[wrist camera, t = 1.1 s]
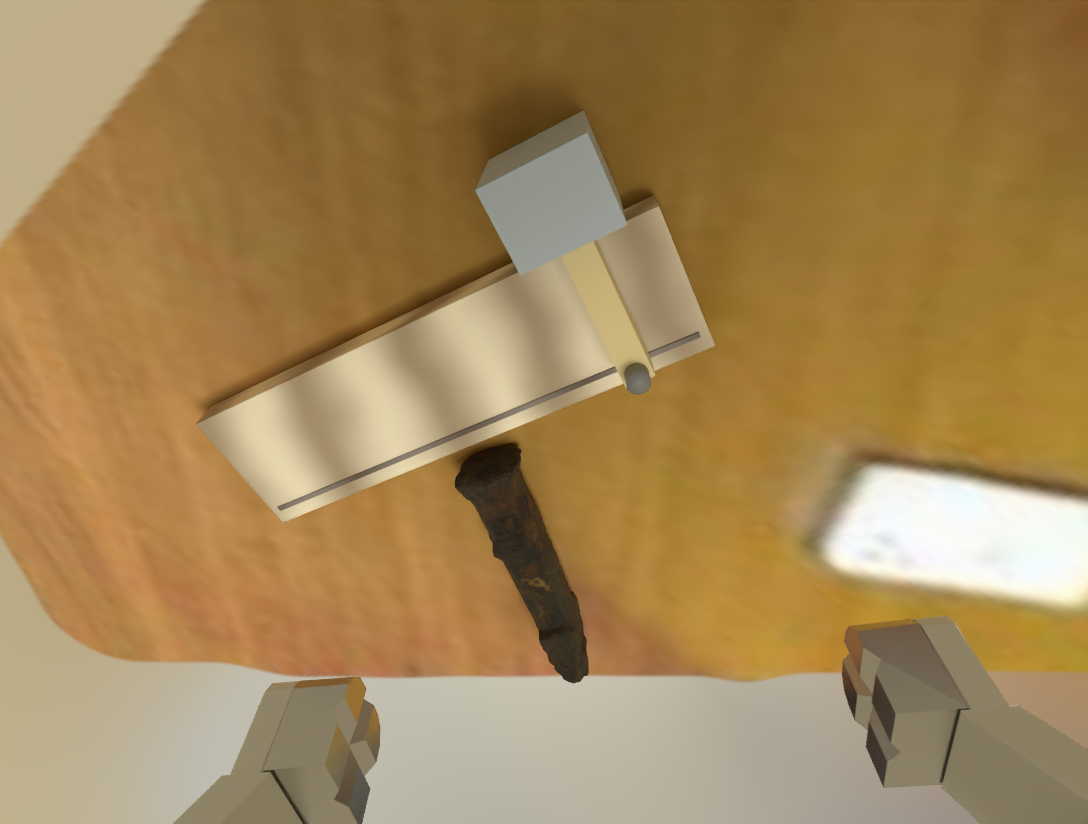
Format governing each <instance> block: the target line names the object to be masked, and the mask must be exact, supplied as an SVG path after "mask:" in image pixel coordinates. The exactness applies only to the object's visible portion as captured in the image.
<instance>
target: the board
mask: <svg viewBox="0 0 1088 824" xmlns="http://www.w3.org/2000/svg"><path fill="white" fill-rule="evenodd" d="M623 211H624V214H625V218H626V222H627V226H624V227H622V228H620V229H618V230H616V231H614V232H612V233H610V234H607V235H605V236H603V237H601V238H599V239H597V243H598V245H599V247H600V249H601V251H602V253H603V256H604V258H605V260H606V262H607V264H608V266H609V269H610V271H611V273H612V275H613V277H614V279H615V282H616V284H617V286H618V288H619V290H620V292H621V295H622V297H623V299H624V301H625V303H626V306H627V308H628V310H629V312H630V314H631V316H632V319H633V321H634V323H635V325H636V327H637V329H638V332H639V334H640V336H641V338H642V340H643V342H644V345H645V347H646V349H647V351H648V353H649V355H650V358H651V360H652V363H653V367H654V371H655V370H658V369H660V368H663V367H665V366H668V365H670V364H672V363H675V362H677V361H680V360H682V359H685V358H687V357H690V356H692V355H695V354H697V353H699V352H702V351H704V350H707V349H709V348H712V347H714V346H715V344H714V342H713V339H712V337H711V334H710V332H709V329H708V327H707V324H706V322H705V319H704V317H703V314H702V312H701V309H700V307H699V304H698V302H697V299H696V297H695V294H694V292H693V289H692V287H691V284H690V282H689V280H688V277H687V275H686V272H685V270H684V267H683V265H682V262H681V260H680V257H679V255H678V252H677V250H676V247H675V245H674V242H673V240H672V237H671V235H670V232H669V230H668V227H667V225H666V222H665V220H664V217H663V215H662V212H661V210H660V207H659V205H658V203H657V201H656V198H655V196H654V195H653V196H651V197H649V198H647V199H645V200H643V201H640V202H638V203H636V204H634V205H632V206H630V207H628V208H626V209H624V210H623ZM621 384H623V382H622V379H621V377H620V375H619V373H618V371H617V369H616V367H615V365H614V363H613V361H612V359H611V357H610V355H609V353H608V351H607V349H606V347H605V345H604V343H603V341H602V339H601V337H600V335H599V333H598V331H597V329H596V327H595V325H594V323H593V321H592V319H591V317H590V315H589V313H588V311H587V309H586V307H585V305H584V303H583V301H582V299H581V296H580V294H579V292H578V290H577V288H576V286H575V284H574V282H573V280H572V278H571V276H570V274H569V272H568V270H567V268H566V266H565V264H564V262H563V260H562V258H561V257H558V258H556V259H554V260H552V261H550V262H548V263H546V264H544V265H541V266H539V267H537V268H535V269H533V270H531V271H529V272H527V273H524V274H522V275H520V274H519V272H518V270H517V268H516V266H515V265H514V263H513V262H512V263H510V264H508V265H506V266H504V267H502V268H500V269H498V270H496V271H494V272H492V273H489V274H487V275H485V276H483V277H481V278H479V279H477V280H475V281H473V282H471V283H468V284H466V285H464V286H462V287H460V288H458V289H456V290H454V291H452V292H450V293H447V294H445V295H443V296H441V297H439V298H437V299H435V300H433V301H431V302H429V303H427V304H424V305H422V306H420V307H418V308H416V309H414V310H412V311H410V312H408V313H406V314H403V315H401V316H399V317H397V318H395V319H393V320H391V321H389V322H387V323H385V324H382V325H380V326H378V327H376V328H374V329H372V330H370V331H368V332H366V333H364V334H361V335H359V336H357V337H355V338H353V339H351V340H349V341H347V342H345V343H343V344H341V345H338V346H336V347H334V348H332V349H330V350H328V351H326V352H324V353H322V354H320V355H317V356H315V357H313V358H311V359H309V360H307V361H305V362H303V363H301V364H299V365H296V366H294V367H292V368H290V369H288V370H286V371H284V372H282V373H280V374H278V375H276V376H273V377H271V378H269V379H267V380H265V381H263V382H261V383H259V384H257V385H255V386H252V387H250V388H248V389H246V390H244V391H242V392H240V393H238V394H236V395H234V396H231V397H229V398H227V399H225V400H223V401H221V402H219V403H217V404H215V405H213V406H211V407H210V408H209V409H208V410H207V412H206V413H205V414H204V415H203V416H202V418H201V419H200V420H199V421H198V422H197V423H196V425H197V426H198V428H199V429H200V430H201V431H202V432H203V433H204V434H205V435H206V436H207V438H208V439H209V440H210V441H211V442H212V443H213V444H214V445H215V447H216V448H217V449H218V450H219V451H220V452H221V453H222V454H223V456H224V457H225V458H226V459H227V460H228V461H229V462H230V463H231V465H232V466H233V467H234V468H235V469H236V470H237V471H238V472H239V473H240V475H241V476H242V477H243V478H244V479H245V480H246V481H247V482H248V484H249V485H250V486H251V487H252V488H253V489H254V490H255V491H256V493H257V494H258V495H259V496H260V497H261V498H262V499H263V500H264V502H265V503H266V504H267V505H268V506H269V507H270V508H271V509H272V510H273V512H274V513H275V514H276V515H277V516H278V517H279V518H280V519H281V521H282V522H285V521H288V520H290V519H292V518H295V517H297V516H300V515H302V514H305V513H307V512H310V511H312V510H315V509H317V508H319V507H322V506H324V505H327V504H329V503H332V502H334V501H337V500H339V499H342V498H344V497H346V496H349V495H351V494H354V493H356V492H359V491H361V490H364V489H366V488H368V487H371V486H373V485H376V484H378V483H381V482H383V481H386V480H388V479H391V478H393V477H395V476H398V475H400V474H403V473H405V472H408V471H410V470H413V469H415V468H418V467H420V466H422V465H425V464H427V463H430V462H432V461H435V460H437V459H440V458H442V457H444V456H447V455H449V454H452V453H454V452H457V451H459V450H462V449H464V448H467V447H469V446H471V445H474V444H476V443H479V442H481V441H484V440H486V439H489V438H491V437H494V436H496V435H498V434H501V433H503V432H506V431H508V430H511V429H513V428H516V427H518V426H520V425H523V424H525V423H528V422H530V421H533V420H535V419H538V418H540V417H543V416H545V415H547V414H550V413H552V412H555V411H557V410H560V409H562V408H565V407H567V406H569V405H572V404H574V403H577V402H579V401H582V400H584V399H587V398H589V397H592V396H594V395H596V394H599V393H601V392H604V391H606V390H609V389H611V388H614V387H616V386H619V385H621Z"/></svg>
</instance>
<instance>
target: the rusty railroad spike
mask: <svg viewBox="0 0 1088 824" xmlns="http://www.w3.org/2000/svg"><path fill="white" fill-rule="evenodd" d="M521 451H522V450H521V449H519V448H518V447H516V446H514V445H512V444H509V445H505V446H502V447H496V448H490V449H487V450H484V451H481V452H479V453H477V454H475V455H472V456H471V457H470V458H468V459H467V460H466V461H464V463H463V464H462V466H461V469H460V472H459V473H458V475H457V476H456V479H455V488H456V489H457V490H458V491H459V492H460V493H461V494H462V495H463V496H464V497H465V498H466V499H467V500H470V501H471V502H472V503H473V505H474V506H475V507H476V509H477V511H478V513H479V515H480V517H481V519H482V521H483V523H484V525H485V526H486V528H487V530H488V532H489V537H490V539H491V540H492V542H493V554H494V557H496V558H498V559H500V560H502V561H503V562H504V564H505V566H506V568H507V569H508V571H509V573H510V575H511V577H512V579H513V581H514V583H515V585H516V587H517V589H518V590H519V592H520V594H521V596H522V598H523V600H524V602H525V604H526V606H527V607H528V609H529V611H530V613H531V615H532V617H533V619H534V621H535V623H536V626H537V627H538V629H539V641H540V644H541V645H542V647H543V650H544V651H545V652H546V653H547V655H548V659H549V662H550V663H551V664H552V665H554V667H555V670H556V671H557V673H559V674H560V675H561V676H562V677H563V679H564V680H566V681H568V682H571V683H576V682H580V681H581V679H582V678H583V677H584V676H587V675H588V671H589V669H588V657H587V652H586V644H587V642H586V637H585V636H584V633H583V627H582V625H583V622H582V619H581V615H580V609H579V605H578V600H577V598H576V596H575V594H574V593H573V592H571V591H570V589H569V587H568V584H567V582H566V579H565V576H564V573H563V571H562V569H561V566H560V564H559V561H558V558H557V555H556V552H555V550H554V549H553V547H552V545H551V543H550V541H549V538H548V535H547V533H546V531H545V526H544V524H543V522H542V519H541V516H540V513H539V510H538V508H537V506H536V505H535V503H534V501H533V498H532V496H531V495H530V493H529V491H528V489H527V486H526V484H525V482H524V480H523V477H522V474H521V472H520V469H519V467H520V461H521V456H520V454H521Z"/></svg>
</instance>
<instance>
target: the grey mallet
mask: <svg viewBox="0 0 1088 824" xmlns="http://www.w3.org/2000/svg"><path fill="white" fill-rule="evenodd" d="M475 191H476V193H477V195H478V197H479V199H480V201H481V203H482V204H483V206H484V208H485V210H486V212H487V214H488V216H489V218H490V220H491V221H492V223H493V225H494V227H495V229H496V231H497V233H498V235H499V236H500V238H501V240H502V242H503V244H504V246H505V248H506V250H507V251H508V253H509V255H510V257H511V259H512V261H513V263H514V265H515V266H516V268H517V270H518V272H519V274H520V275H522V274H524V273H527V272H529V271H531V270H533V269H535V268H537V267H539V266H541V265H544V264H546V263H548V262H550V261H552V260H554V259H556V258H558V257H561V258H562V260H563V262H564V264H565V266H566V268H567V270H568V272H569V274H570V276H571V278H572V280H573V282H574V284H575V286H576V288H577V290H578V292H579V294H580V296H581V299H582V301H583V303H584V305H585V307H586V309H587V311H588V313H589V315H590V317H591V319H592V321H593V323H594V325H595V327H596V329H597V331H598V333H599V335H600V337H601V339H602V341H603V343H604V345H605V347H606V349H607V351H608V353H609V355H610V357H611V359H612V361H613V363H614V365H615V367H616V369H617V371H618V373H619V375H620V377H621V379H622V382H623V384H624V386H625V388H627V389H628V390H629V391H630V392H631V393H633V394H643V393H645V392H647V391H648V390H649V388H650V386H651V379H650V378H651V377H654V376H656V375H655V371H654V367H653V363H652V360H651V358H650V355H649V353H648V351H647V349H646V347H645V345H644V342H643V340H642V338H641V336H640V334H639V332H638V329H637V327H636V325H635V323H634V321H633V319H632V316H631V314H630V312H629V310H628V308H627V306H626V303H625V301H624V299H623V297H622V295H621V292H620V290H619V288H618V286H617V284H616V282H615V279H614V277H613V275H612V273H611V271H610V269H609V266H608V264H607V262H606V260H605V258H604V256H603V253H602V251H601V249H600V247H599V245H598V243H597V239H599V238H601V237H603V236H605V235H607V234H610V233H612V232H614V231H616V230H618V229H620V228H622V227H624V226H627V222H626V218H625V214H624V211H623V207H622V204H621V200H620V197H619V193H618V190H617V187H616V185H615V183H614V180H613V178H612V176H611V173H610V171H609V169H608V166H607V164H606V162H605V159H604V157H603V155H602V152H601V150H600V148H599V145H598V143H597V141H596V138H595V136H594V134H593V131H592V129H591V127H590V124H589V122H588V120H587V117H586V115H585V113H584V110H583V111H581V112H579V113H577V114H575V115H573V116H571V117H569V118H568V119H566V120H564V121H562V122H560V123H558V124H556V125H554V126H552V127H550V128H548V129H547V130H545V131H543V132H541V133H539V134H537V135H535V136H533V137H531V138H529V139H528V140H526V141H524V142H522V143H520V144H518V145H516V146H514V147H512V148H510V149H508V150H507V151H505V152H503V153H501V154H499V155H497V156H495V157H493V158H491V159H489V160H488V162H487V165H486V167H485V169H484V171H483V174H482V176H481V178H480V180H479V183H478V185H477V187H476V189H475Z"/></svg>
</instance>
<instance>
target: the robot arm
mask: <svg viewBox="0 0 1088 824" xmlns="http://www.w3.org/2000/svg"><path fill="white" fill-rule="evenodd" d="M844 642H845V644H846V647H847V649H848V651H849V653H850V654H849V655H847V656H846V657H845V658H844V659H843V661H842V678H843V686H844V691H845V695H846V698H847V702H848V705H849V707H850V710H851V712H852V715H853V717H854V720H855V721H857V722H858V723H859V724H860V725H862V726H863V727H864V728H865V729H867V730H868V733H867V741H866V748H867V750H868V753H869V755H870V757H871V760H872V762H873V764H874V767H875V769H876V771H877V774H878V776H879V778H880V781H881V783H882V785H883V787H884V788H887V787H905V786H924V785H942V789H944V790H945V791H946V792H947V793H948V794H949V795H950V796H951V797H952V798H953V799H955V801H957V802H958V803H959V804H960V805H961V806H962V807H963V808H964V809H965V810H966V811H968V812H969V813H970V814H971V815H972V816H973V817H974V818H975V819H976V820H977V821H978V822H979V823H981V824H1088V749H1087V748H1085V747H1083V746H1082V745H1080V744H1079V743H1077V742H1075V741H1074V740H1073V739H1071V738H1069V737H1068V736H1067V735H1065V734H1063V733H1062V732H1060V731H1059V730H1057V729H1056V728H1054V727H1052V726H1051V725H1049V724H1048V723H1046V722H1045V721H1043V720H1042V719H1040V718H1038V717H1037V716H1035V715H1034V714H1032V713H1031V712H1029V711H1028V710H1026V709H1024V708H1023V707H1021V706H1009V705H1008V703H1007V702H1006V700H1005V699H1004V697H1003V696H1002V694H1001V693H1000V691H999V690H998V688H997V686H996V685H995V683H994V682H993V680H992V679H991V678H990V676H989V674H988V673H987V671H986V670H985V668H984V667H983V665H982V664H981V662H980V661H979V659H978V658H977V656H976V655H975V653H974V652H973V650H972V648H971V647H970V645H969V644H968V642H967V641H966V639H965V638H964V636H963V635H962V633H961V632H960V630H959V629H958V627H957V626H956V624H955V623H954V621H953V620H951V619H950V618H949V617H947V616H942V617H932V618H923V619H914V620H911V619H906V620H897V621H889V622H880V623H871V624H862V625H854V626H849V627H848V628H847V630H846V632H845V640H844ZM365 692H366V687H365V686H364V684H363V682H362V680H361V678H360V677H347V678H333V679H319V680H305V681H294V682H283V683H273V684H272V685H271V686H270V687H269V688H268V689H267V690H266V691H265V693H264V695H263V697H262V700H261V702H260V705H259V707H258V710H257V712H256V714H255V717H254V719H253V721H252V724H251V726H250V729H249V731H248V733H247V736H246V738H245V741H244V743H243V746H242V748H241V750H240V753H239V755H238V757H237V760H236V762H235V764H234V767H233V769H232V772H231V774H230V775H225V776H221V777H220V778H219V779H218V780H217V781H216V782H215V783H214V784H213V785H212V786H211V787H210V788H209V789H208V790H207V791H206V792H205V793H204V794H203V795H202V796H201V797H200V798H199V799H198V800H197V801H196V802H195V803H194V804H193V805H192V806H190V807H189V808H188V809H187V810H186V811H185V812H184V813H183V814H182V815H181V816H180V817H179V818H178V819H177V820H176V821H175V822H174V823H173V824H362V822H363V817H364V813H365V809H366V804H367V800H368V796H369V792H370V787H369V785H368V783H367V781H366V779H365V777H364V776H365V775H366V774H367V772H368V771H369V770H370V769H371V768H372V767H373V766H374V764H375V763H376V761H377V756H378V752H379V747H380V723H379V718H378V714H377V712H376V709H375V707H374V705H372V704H371V703H369V702H367V701H366V700H364V696H365Z"/></svg>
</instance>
